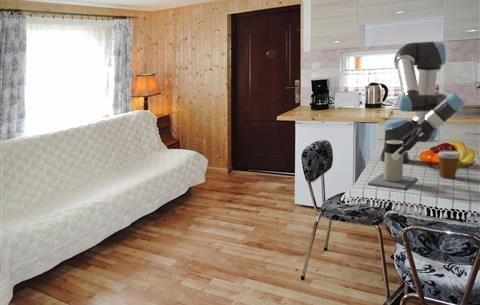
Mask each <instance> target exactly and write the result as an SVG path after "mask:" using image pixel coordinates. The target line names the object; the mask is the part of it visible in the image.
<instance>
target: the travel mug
mask: <svg viewBox="0 0 480 305" xmlns="http://www.w3.org/2000/svg"><path fill="white" fill-rule="evenodd" d="M386 143H387V146H386V148H385V161H384V163H383V165H384V166H383V167H384V168H383V173H384V180H386V181H390V182H399V181H402V176H403V170H404V169H403V168H404V163H403V155H402V156H400V157H399V158H398V159H397V160H396V161H395V160H394V159H393V158H392V157H391V156H392V155H393V154H394V153H395V152H396V151H397V150H398V149H400V148H401V147H402V144H403V141H398V140H389V141H386Z"/></svg>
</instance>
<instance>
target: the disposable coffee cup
mask: <svg viewBox="0 0 480 305" xmlns="http://www.w3.org/2000/svg"><path fill="white" fill-rule="evenodd" d="M437 157H438V161H439V162H438V163H439V165H438V166H439V177H440V178H443V179H449V180H450V179H455V177H456V174H457V168H458V164H459V159H460V157H461V155H460V152H459V151H456V150H440V151H439V152H438V154H437Z"/></svg>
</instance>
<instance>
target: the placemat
mask: <svg viewBox="0 0 480 305" xmlns="http://www.w3.org/2000/svg"><path fill="white" fill-rule="evenodd" d="M416 181H417V177H415V176H408V175H402V181H399V182H390V181H386V180H384V172H382V173H380V174H379V175H378V176H376V177H375V178H373V179H372V180H370V181H368V183H367V185H368V186H374V187H379V188H387V189H394V190H402V191H405V190H406V189H407V188H408V187H410V186H411V185H413V183H415V182H416Z"/></svg>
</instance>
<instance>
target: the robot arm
mask: <svg viewBox="0 0 480 305" xmlns="http://www.w3.org/2000/svg"><path fill="white" fill-rule="evenodd" d="M446 59H447V53H446V47H445V45H444V43H443V42H442V41H422V42H421V41H419V42H415V41H414V42H409V43H406V44H404V45H403V46H401V47H400V48H399V49H398V51H397V52H396V54H395V56H394V60H393V62H394V67H395V69H396V70H397V73H398V78H399V85H400V91H401V95H400V96H399V97H398V110H399V111H400V112H407V113H409V112H410V113H411V112H414V113H415V114H414V115H413V116H412V117H411V120H409V119H408V118H405V117H402V118H401V117H400V118H394V119H389V120H387V121H386V122H385V124H384V142H383V143H384V145H383V149H382V151H381V154H380V161H382V162H385V148H386V146H387V143H386V141H389V140H398V141H403V144H402V147H401V148H400V149H398V150H397V151H396V152H395V153H394V154H393V155H392V156H391V157H392V158H393V159H394V160H395V161H396V160H397V159H398V158H399V157H400V156H402V155H403V164H404V163H408V162H409V161H410V156H409V152H408V151H411V149H412V148H413V147H414V146H415V145H416V144H417V143H431V142H434V141H435V140H436V138H437V134H438V132H439V130H438V129H439V128H440V127H441V126H444V123H445V122H447V121H448V120H449V119H450V118H451V117H452V116H454V114H456V113H457V112H458V111H460V110H461V109H462V108H463V107H464V106H465V101H464V100H463V99H462V98H461V97H459V96H458V95H457V94H456V93H455V92H450V93H449V94H445V93H436V86H437V75H438V72H440V70H441V69H442V66H443V65H445V64H446ZM415 66H416V69H415ZM415 70H417V71H418V80H417V75H416V71H415Z"/></svg>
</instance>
